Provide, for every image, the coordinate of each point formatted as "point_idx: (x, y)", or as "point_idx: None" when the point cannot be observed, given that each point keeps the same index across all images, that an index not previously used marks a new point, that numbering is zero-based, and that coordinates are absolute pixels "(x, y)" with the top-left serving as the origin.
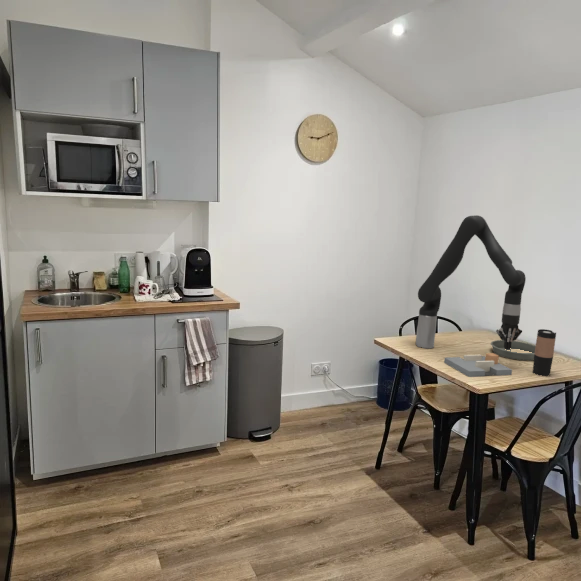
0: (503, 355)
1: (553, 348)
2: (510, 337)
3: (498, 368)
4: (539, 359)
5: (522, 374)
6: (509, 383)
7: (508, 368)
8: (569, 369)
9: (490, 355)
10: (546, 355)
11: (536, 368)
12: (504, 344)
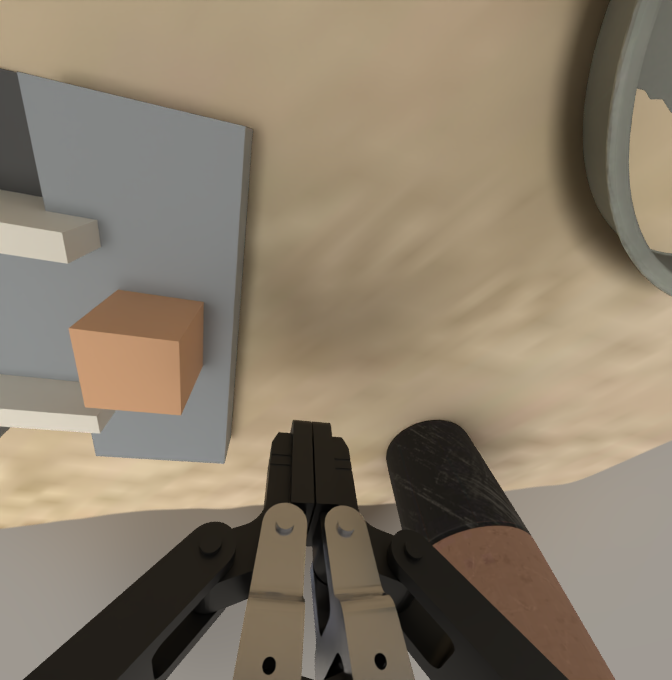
0: (596, 78)
1: None
2: (318, 628)
3: (133, 435)
4: None
5: None
6: (119, 510)
7: (214, 446)
8: (639, 438)
9: (85, 392)
10: None
11: (392, 483)
12: (268, 473)
